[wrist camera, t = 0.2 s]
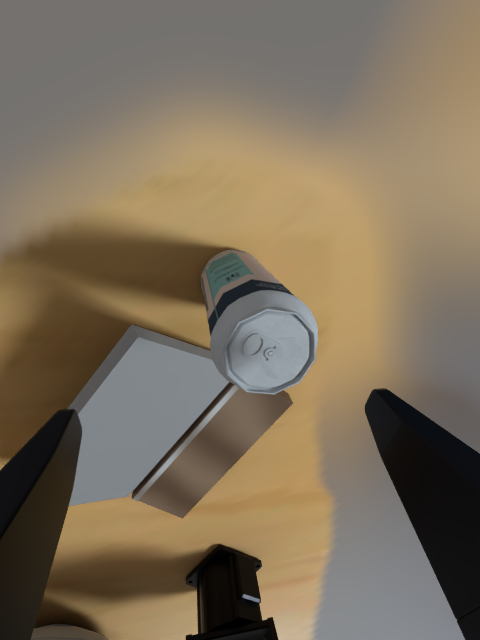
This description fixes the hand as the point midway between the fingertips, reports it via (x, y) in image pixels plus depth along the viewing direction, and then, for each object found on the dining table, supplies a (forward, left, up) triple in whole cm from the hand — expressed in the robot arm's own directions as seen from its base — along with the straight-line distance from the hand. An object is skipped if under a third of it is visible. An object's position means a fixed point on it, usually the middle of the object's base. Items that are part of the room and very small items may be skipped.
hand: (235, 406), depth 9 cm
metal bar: (-12, -9, -15) cm, 21 cm away
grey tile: (-12, -1, -12) cm, 17 cm away
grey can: (+1, -2, -15) cm, 15 cm away
